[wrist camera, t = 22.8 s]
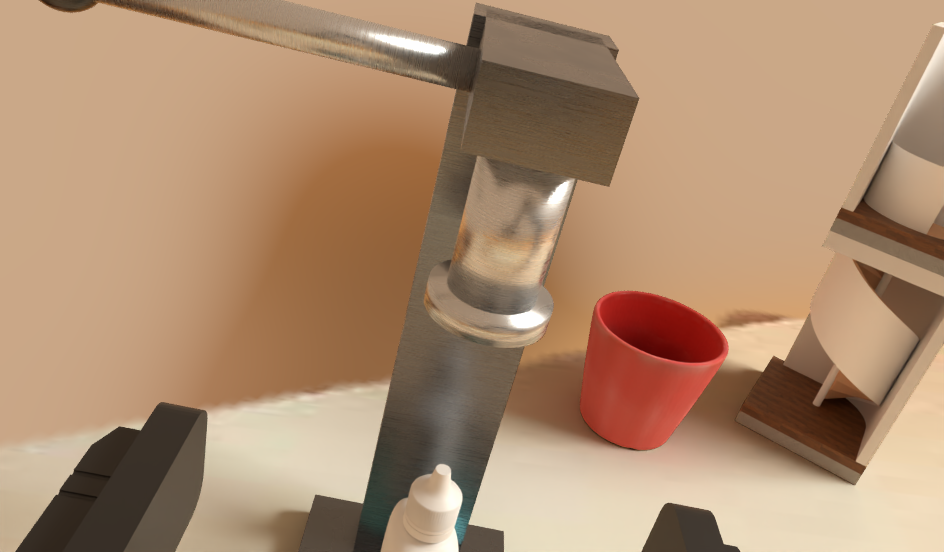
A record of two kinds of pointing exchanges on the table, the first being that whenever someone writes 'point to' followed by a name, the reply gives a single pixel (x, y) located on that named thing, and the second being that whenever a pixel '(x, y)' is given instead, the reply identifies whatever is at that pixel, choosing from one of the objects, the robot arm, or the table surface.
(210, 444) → the table surface
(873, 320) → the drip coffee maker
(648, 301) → the flower pot
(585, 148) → the arbor press
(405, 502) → the eye dropper bottle
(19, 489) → the table surface
